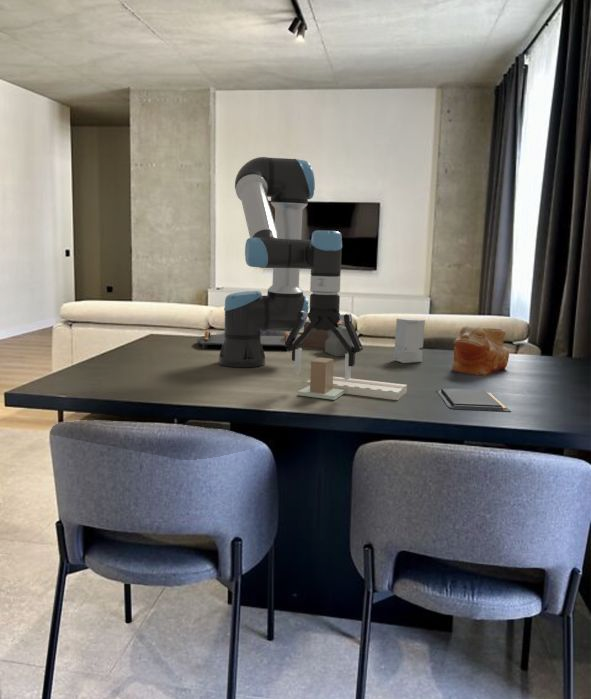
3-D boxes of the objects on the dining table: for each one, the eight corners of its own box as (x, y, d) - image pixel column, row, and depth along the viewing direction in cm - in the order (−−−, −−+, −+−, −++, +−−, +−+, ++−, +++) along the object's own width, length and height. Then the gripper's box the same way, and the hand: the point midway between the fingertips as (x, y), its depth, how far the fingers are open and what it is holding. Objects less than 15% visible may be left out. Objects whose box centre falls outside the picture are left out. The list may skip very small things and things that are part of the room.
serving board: (193, 350, 216) (193, 334, 215) (200, 341, 239) (200, 326, 238) (298, 352, 218) (299, 336, 217) (295, 343, 241) (295, 328, 240)
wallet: (436, 386, 161) (493, 388, 159) (435, 392, 161) (492, 395, 160) (447, 404, 141) (512, 407, 140) (446, 411, 141) (511, 415, 140)
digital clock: (357, 357, 209) (358, 327, 207) (332, 357, 207) (333, 327, 206) (344, 350, 225) (345, 322, 223) (321, 350, 223) (322, 322, 221)
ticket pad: (306, 388, 158) (306, 381, 158) (319, 381, 167) (319, 374, 167) (397, 400, 149) (398, 392, 148) (406, 392, 158) (407, 384, 157)
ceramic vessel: (439, 371, 187) (442, 325, 185) (476, 362, 206) (480, 319, 204) (480, 379, 178) (484, 330, 176) (515, 368, 197) (519, 323, 195)
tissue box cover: (314, 338, 255) (315, 315, 253) (348, 340, 252) (349, 317, 251) (303, 347, 230) (303, 321, 229) (339, 349, 227) (340, 323, 226)
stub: (297, 395, 150) (298, 360, 149) (309, 388, 157) (310, 355, 156) (334, 399, 146) (335, 364, 145) (344, 393, 154) (346, 359, 152)
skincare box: (402, 363, 200) (405, 319, 198) (392, 360, 205) (395, 317, 203) (423, 362, 203) (425, 319, 201) (413, 359, 209) (415, 317, 206)
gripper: (273, 291, 149) (272, 373, 152) (368, 296, 139) (364, 383, 143) (285, 290, 156) (284, 369, 159) (377, 294, 146) (373, 378, 149)
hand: (322, 376), depth 151 cm, fingers open, 13 cm apart
